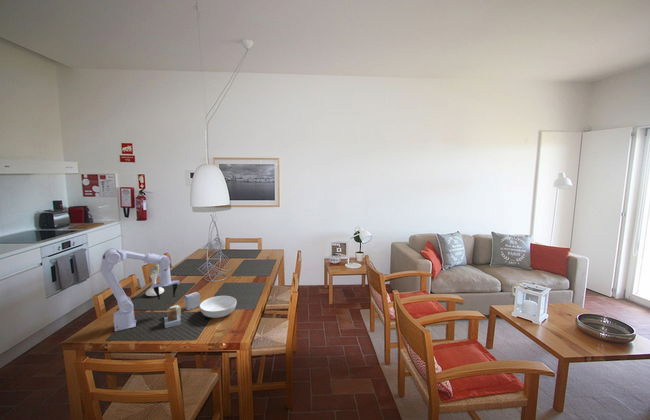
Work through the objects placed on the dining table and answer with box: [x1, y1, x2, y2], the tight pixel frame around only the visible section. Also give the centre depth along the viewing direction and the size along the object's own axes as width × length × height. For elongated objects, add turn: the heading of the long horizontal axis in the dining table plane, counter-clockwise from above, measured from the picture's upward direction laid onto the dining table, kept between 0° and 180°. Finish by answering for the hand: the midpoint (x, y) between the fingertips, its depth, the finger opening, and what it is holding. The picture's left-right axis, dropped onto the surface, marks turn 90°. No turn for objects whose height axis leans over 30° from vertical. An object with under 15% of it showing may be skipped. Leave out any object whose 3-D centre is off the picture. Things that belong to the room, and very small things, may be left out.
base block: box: [164, 314, 182, 329], centre depth 168 cm, size 8×8×3 cm
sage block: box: [169, 304, 182, 317], centre depth 176 cm, size 4×4×6 cm
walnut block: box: [166, 307, 177, 322], centre depth 167 cm, size 4×4×6 cm
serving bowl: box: [199, 295, 237, 319], centre depth 179 cm, size 21×21×7 cm
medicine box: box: [183, 291, 201, 311], centre depth 186 cm, size 8×4×9 cm, turn 141°
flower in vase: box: [145, 265, 165, 297], centre depth 204 cm, size 13×11×25 cm
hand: (166, 297), depth 177 cm, fingers open, 7 cm apart
